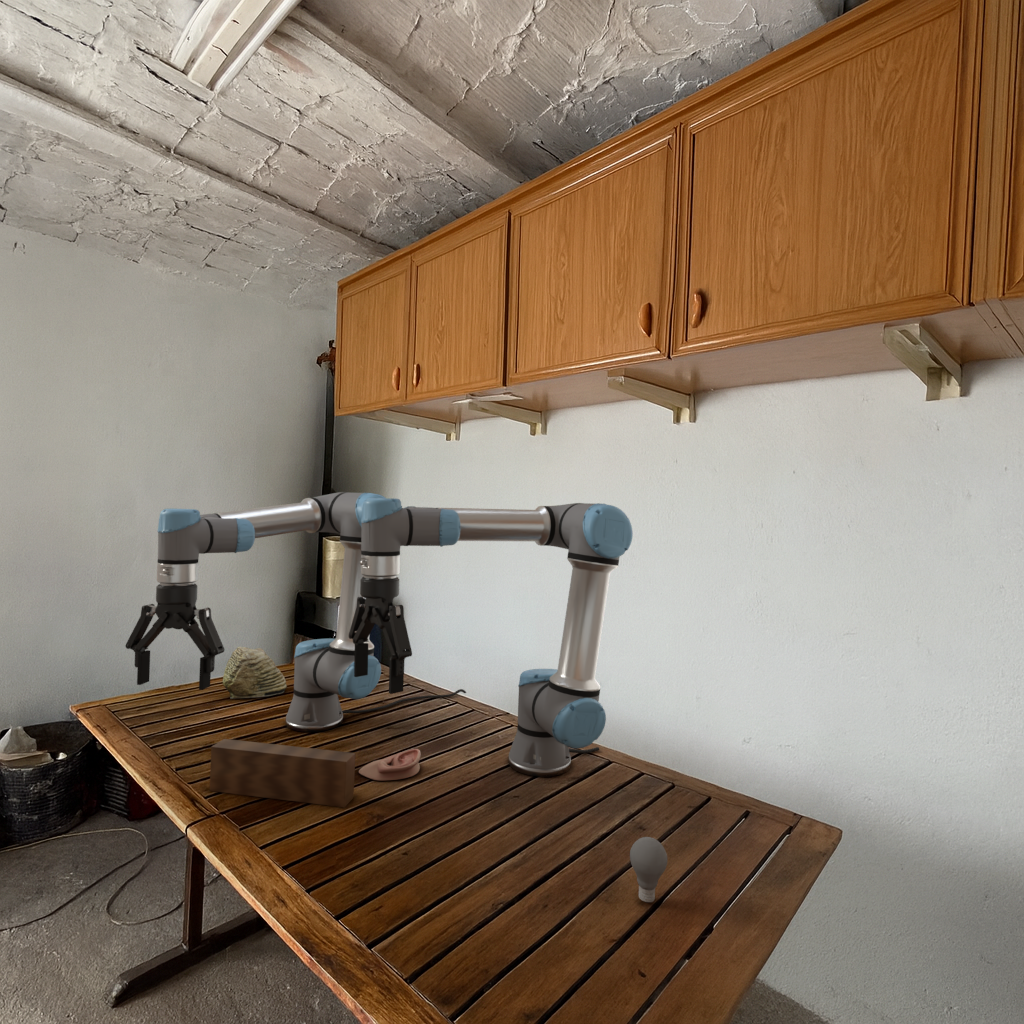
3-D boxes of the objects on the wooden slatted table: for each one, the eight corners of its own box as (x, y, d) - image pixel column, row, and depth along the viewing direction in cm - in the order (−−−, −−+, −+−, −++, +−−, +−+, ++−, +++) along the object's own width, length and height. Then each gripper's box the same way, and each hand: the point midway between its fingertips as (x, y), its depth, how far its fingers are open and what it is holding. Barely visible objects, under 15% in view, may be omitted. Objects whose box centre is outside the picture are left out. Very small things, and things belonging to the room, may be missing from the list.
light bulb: (623, 888, 106) (626, 829, 106) (658, 888, 107) (661, 829, 106) (633, 912, 100) (636, 849, 100) (670, 911, 101) (673, 849, 100)
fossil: (218, 695, 195) (220, 647, 195) (278, 685, 208) (279, 640, 207) (228, 703, 189) (230, 653, 188) (289, 692, 201) (290, 645, 201)
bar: (209, 790, 134) (211, 746, 134) (222, 781, 139) (224, 738, 139) (344, 807, 130) (346, 761, 130) (353, 797, 134) (355, 752, 134)
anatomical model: (353, 759, 143) (374, 741, 154) (352, 777, 143) (373, 757, 154) (408, 767, 140) (426, 748, 152) (408, 785, 140) (425, 764, 152)
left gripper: (108, 582, 128) (104, 686, 129) (224, 589, 126) (220, 695, 126) (133, 577, 136) (130, 676, 136) (244, 584, 133) (240, 684, 133)
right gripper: (333, 570, 131) (331, 672, 132) (397, 585, 113) (394, 704, 113) (365, 568, 136) (363, 666, 137) (432, 582, 118) (429, 696, 118)
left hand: (173, 685), depth 131 cm, fingers open, 13 cm apart
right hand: (377, 683), depth 125 cm, fingers open, 13 cm apart
